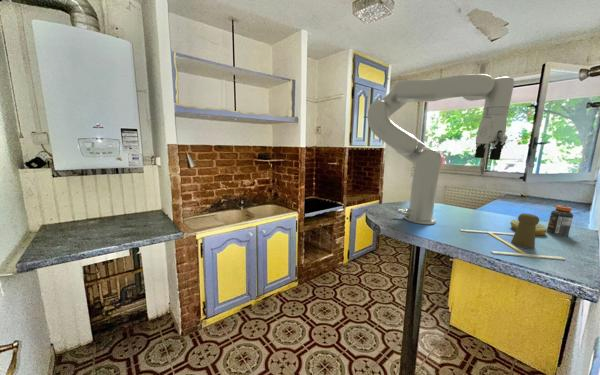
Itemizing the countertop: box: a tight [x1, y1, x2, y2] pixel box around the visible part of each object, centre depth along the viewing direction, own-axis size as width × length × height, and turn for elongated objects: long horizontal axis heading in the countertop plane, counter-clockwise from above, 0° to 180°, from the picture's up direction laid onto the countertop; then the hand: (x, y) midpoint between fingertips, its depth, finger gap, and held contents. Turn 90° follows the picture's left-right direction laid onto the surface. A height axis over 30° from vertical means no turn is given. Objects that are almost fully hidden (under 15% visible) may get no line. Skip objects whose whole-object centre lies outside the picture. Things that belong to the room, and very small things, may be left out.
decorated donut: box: [510, 219, 548, 237], centre depth 97 cm, size 10×11×4 cm
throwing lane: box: [459, 228, 566, 261], centre depth 84 cm, size 20×20×1 cm
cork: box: [510, 212, 540, 250], centre depth 82 cm, size 6×6×11 cm
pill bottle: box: [546, 204, 574, 237], centre depth 94 cm, size 6×6×11 cm
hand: (486, 158), depth 94 cm, fingers open, 9 cm apart
